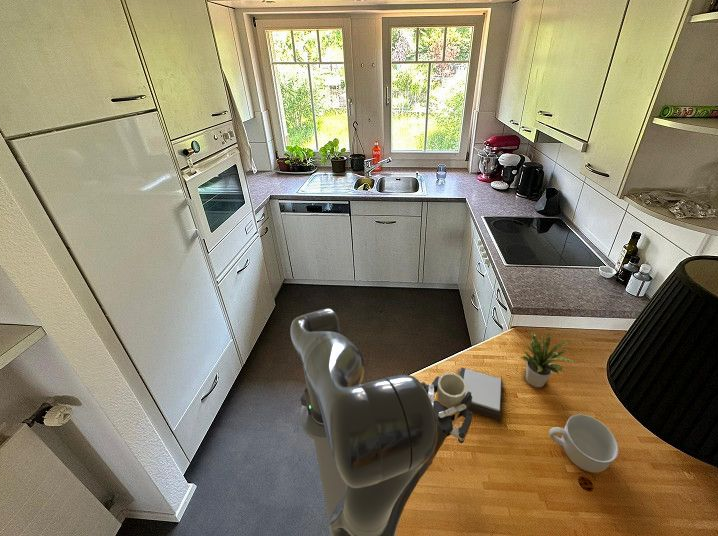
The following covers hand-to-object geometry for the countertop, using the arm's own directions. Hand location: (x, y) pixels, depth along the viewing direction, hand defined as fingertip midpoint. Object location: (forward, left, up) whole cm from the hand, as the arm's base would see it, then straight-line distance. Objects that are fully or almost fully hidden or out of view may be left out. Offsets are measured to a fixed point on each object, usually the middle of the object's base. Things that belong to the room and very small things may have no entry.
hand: (455, 386), depth 75 cm
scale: (+6, +14, -19) cm, 25 cm away
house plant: (+23, +25, -19) cm, 39 cm away
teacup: (+30, +6, -19) cm, 36 cm away
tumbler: (-1, -2, -7) cm, 7 cm away
